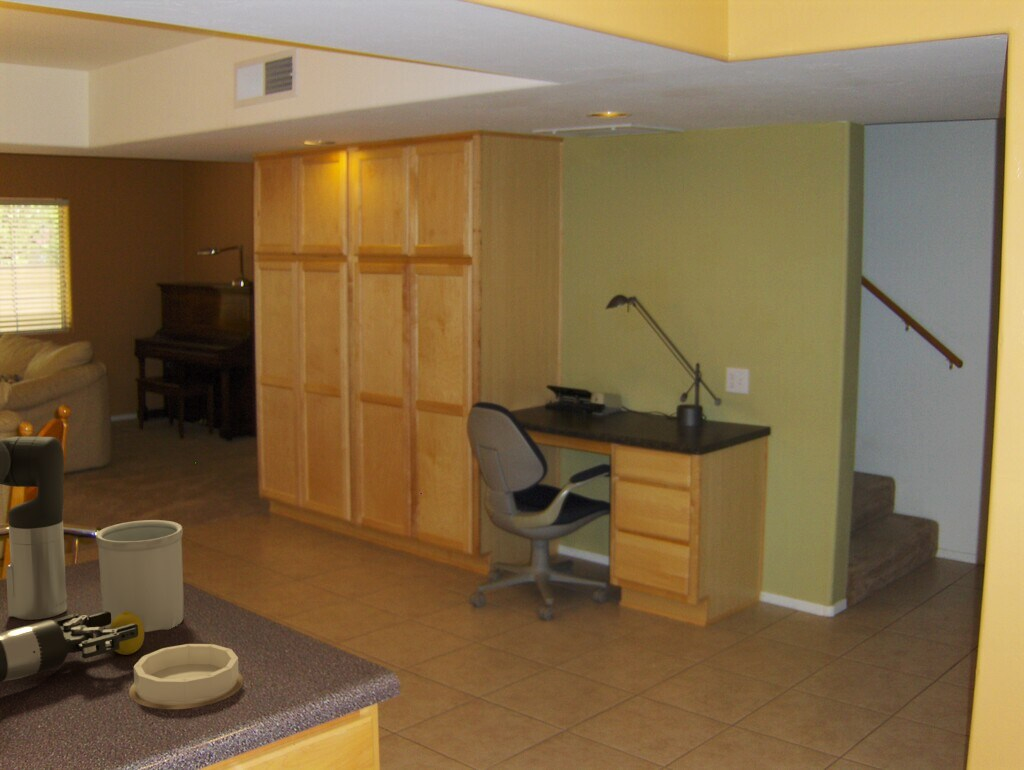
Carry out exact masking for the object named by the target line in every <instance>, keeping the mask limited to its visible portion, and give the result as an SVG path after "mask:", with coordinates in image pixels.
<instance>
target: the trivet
mask: <svg viewBox="0 0 1024 770" xmlns="http://www.w3.org/2000/svg"><path fill="white" fill-rule="evenodd" d="M238 673H239V676H238V678H237V684H236V686H235V687H234V688H233V689H232V690H231V691H230V692H229V693H227V694H225V695H223V696H221V697H219V698H217V699H214V700H211V701H208V702H204V703H199V704H193V705H186V706H163V705H156V704H151V703H148V702H145V701H143V700H142V699H140V698H139V697H138V696H137V693H136V687H135V686H134V683H133V684H132V685H131V686H130V688H129V692H128V694H129V697H130V698H131V700H132V701H133V702H135V703H137V704H139V705H141V706H143V707H147V708H152V709H161V710H184V709H193V708H199V707H203V706H209V705H212V704H215V703H218V702H221V701H223V700H225V699H228V698H231V696H233V695H235V694H236V693H238V692H239V691H240V689H241V688H242V687H243V684H244V677H243V676H242V674H241V673H240V672H239V671H238Z"/></svg>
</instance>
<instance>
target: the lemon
mask: <svg viewBox="0 0 1024 770" xmlns="http://www.w3.org/2000/svg"><path fill="white" fill-rule="evenodd" d="M133 623H134V624H137V625H138V636H137V637H135V638H132V639H128V640H125V641H122V642H120V649H118V650H115V651H114V652H116V653H117V654H119V655H123V656H128V655H132V654H134V653H136V652H138V650H139V649H140V648H141V647H142V645H143V643H144V640H145V632H144V627H143V623H142V621H141V619H140V618H139V617H138V616H137V615H136V614H134V613H130V612H129V611H124V612H123V613H122V614H119V615H118V616H117V617H116V618H115V619H114V620H113V621H112V623H111V626H110V629H115V628H119V627H122V626H126V625H129V624H133Z"/></svg>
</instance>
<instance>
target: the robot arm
mask: <svg viewBox="0 0 1024 770" xmlns="http://www.w3.org/2000/svg"><path fill="white" fill-rule="evenodd" d="M64 455H65V454H64V450H63V445H62V443H61V442H60V440H59V439H58V438H57V437H54V436H10V437H7V438H6V437H5V438H1V439H0V485H3V486H6V487H7V486H8V487H16V488H23V487H25V488H29V487H30V488H33V487H34V488H37V495H36V497H34V498H33V499H31V500H29V501H26V502H23V503H20V504H17V505H14V506H13V507H11V508H10V509H9V511H8V513H7V521H8V537H9V555H10V564H7V566H6V567H5V572H6V573H5V574H6V576H5V577H6V591H7V593H6V595H7V613H8V614H7V615H8V617H14V618H16V619H18V620H19V619H20V620H28V621H29V620H32V621H33V620H41V619H42V620H43V619H46V620H43V621H39V622H35V623H31V624H27V625H24V626H20V627H16V628H13V629H9V630H5V631H3V632H0V683H2V682H6V681H12V680H13V681H14V680H18V679H22V678H25V677H30V676H32V675H35V674H39V673H43V672H45V671H48V670H51V669H55V668H59V667H60V666H62V665H63V664H64V662H65V661H66V659H67V656H68V655H69V654H80V653H82V654H81V655H82V656H81V657H82V658H83V659H89V658H93V657H96V656H99V655H103V654H107V653H110V652H116V651H115V650H118V649H120V642H122V641H125V640H128V639H132V638H135V637H137V636H138V625H137V624H134V623H133V624H129V625H126V626H122V627H119V628H115V629H103V627H105V626H106V625H109V624H111V613H110V612H108V611H106V612H103V611H102V612H99V613H95V614H92V615H89V616H88V615H87V614H82V615H80V616H79V613H71V614H69V615H65V616H62V617H59V618H54V619H48V618H52V617H56V616H59V615H61V614H63V613H65V612H66V611H67V608H68V606H67V605H68V603H67V601H68V600H67V598H68V597H67V581H66V580H67V579H66V562H65V561H66V559H65V558H66V556H65V539H64V538H65V537H64V536H65V535H64V513H63V512H64V503H65V502H64V501H65V500H64V499H65V498H64V497H65V496H64V494H65V493H64V481H65V480H64V479H65V478H64V477H65V476H64V474H65V473H64V472H65V456H64ZM94 634H95V636H94Z"/></svg>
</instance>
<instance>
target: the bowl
mask: <svg viewBox="0 0 1024 770" xmlns="http://www.w3.org/2000/svg"><path fill="white" fill-rule="evenodd" d="M238 672H239V657H238V656H237V654H236V653H235V652H234V651H233V649H232V648H228V647H224V646H222V645H218V644H214V643H212V644H211V643H186V644H180V645H174V646H168V647H163V648H160V649H158V650H155V651H152V652H149V653H147V654H144V655H143V656H141V657H140V659H138V661H137V662H136V663H135V664H134V666H133V684H134V686H135V687H136V693H137V696H138V697H139V698H140V699H142V700H143V701H145V702H148V703H151V704H156V705H163V706H186V705H193V704H199V703H204V702H208V701H211V700H214V699H217V698H219V697H221V696H223V695H225V694H227V693H229V692H230V691H231V690H232V689H233V688H234V687H235V686H236V684H237V678H238V676H239V673H240V672H239V673H238Z"/></svg>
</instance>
